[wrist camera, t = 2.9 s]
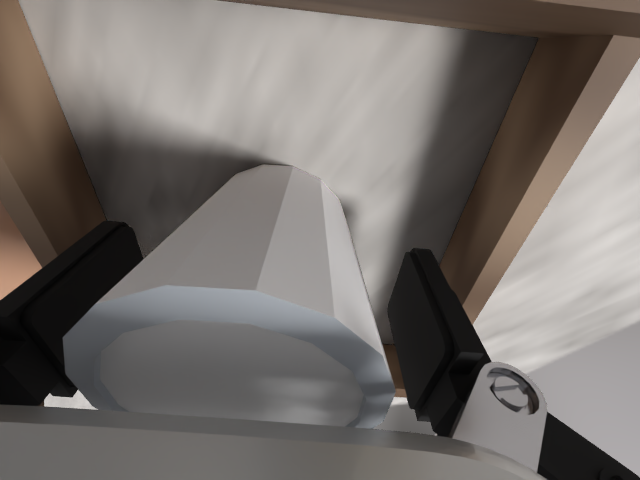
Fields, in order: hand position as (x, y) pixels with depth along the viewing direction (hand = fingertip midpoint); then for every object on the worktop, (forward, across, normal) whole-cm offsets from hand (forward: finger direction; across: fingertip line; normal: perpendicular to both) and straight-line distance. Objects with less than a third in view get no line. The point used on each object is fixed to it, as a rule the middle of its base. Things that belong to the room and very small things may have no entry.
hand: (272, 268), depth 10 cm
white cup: (+2, 0, 0) cm, 3 cm away
